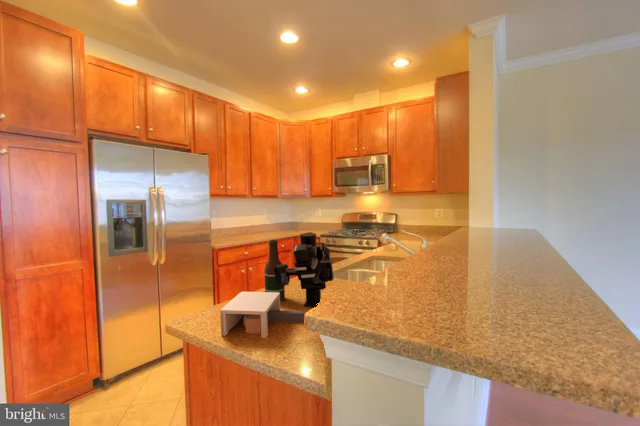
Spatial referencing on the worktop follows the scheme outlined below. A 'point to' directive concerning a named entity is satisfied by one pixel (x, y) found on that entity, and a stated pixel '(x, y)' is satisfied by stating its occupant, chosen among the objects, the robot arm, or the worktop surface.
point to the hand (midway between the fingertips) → (298, 283)
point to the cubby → (249, 309)
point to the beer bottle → (269, 271)
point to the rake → (282, 316)
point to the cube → (253, 323)
